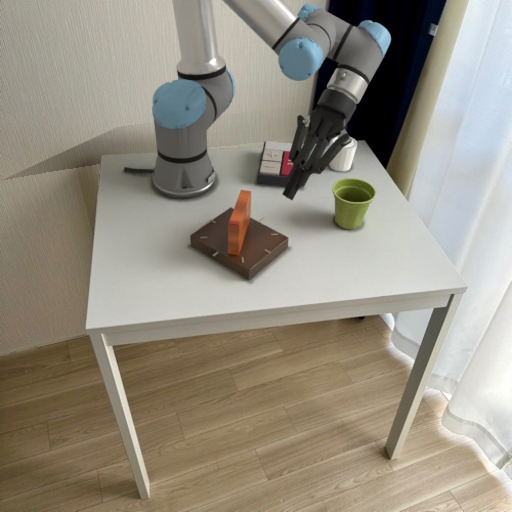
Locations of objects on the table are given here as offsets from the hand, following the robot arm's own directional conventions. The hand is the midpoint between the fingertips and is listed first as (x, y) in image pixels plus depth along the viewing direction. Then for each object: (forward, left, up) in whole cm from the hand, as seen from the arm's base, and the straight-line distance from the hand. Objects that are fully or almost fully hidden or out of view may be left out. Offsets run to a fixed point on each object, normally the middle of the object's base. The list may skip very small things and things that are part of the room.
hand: (287, 197), depth 109 cm
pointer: (-4, -11, -6) cm, 13 cm away
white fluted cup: (-5, +31, -9) cm, 33 cm away
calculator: (-15, +19, -9) cm, 26 cm away
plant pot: (+9, +12, -9) cm, 18 cm away
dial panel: (-4, -11, -9) cm, 15 cm away
